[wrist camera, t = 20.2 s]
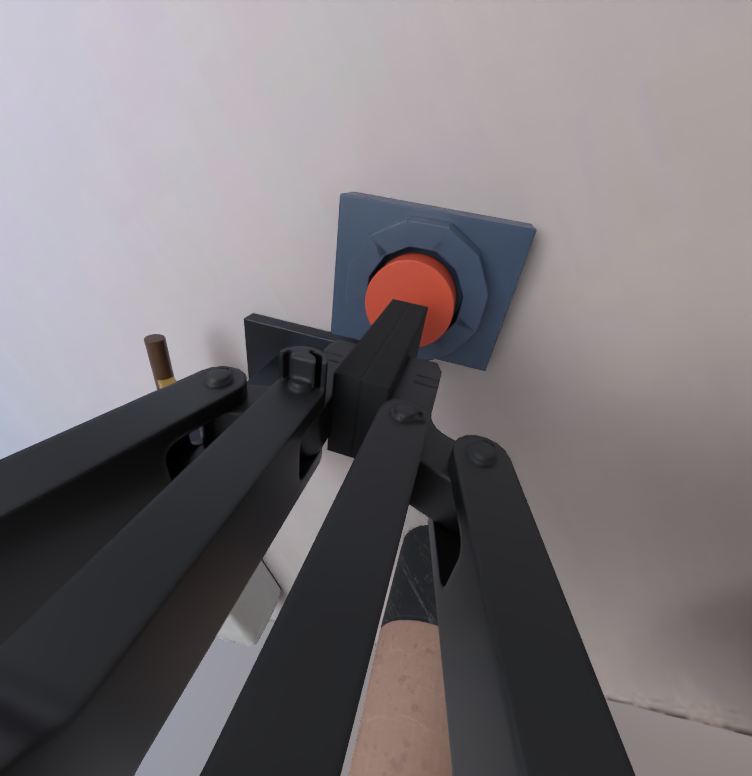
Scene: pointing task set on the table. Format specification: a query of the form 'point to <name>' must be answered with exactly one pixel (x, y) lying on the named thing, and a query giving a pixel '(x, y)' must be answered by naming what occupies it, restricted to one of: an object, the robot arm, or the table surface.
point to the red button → (415, 291)
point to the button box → (447, 245)
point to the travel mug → (406, 678)
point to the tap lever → (159, 360)
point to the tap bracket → (276, 347)
